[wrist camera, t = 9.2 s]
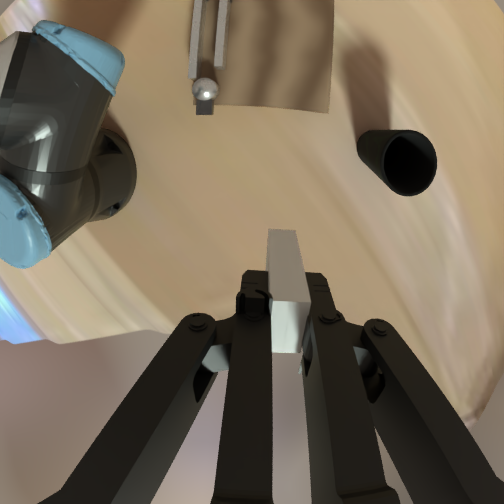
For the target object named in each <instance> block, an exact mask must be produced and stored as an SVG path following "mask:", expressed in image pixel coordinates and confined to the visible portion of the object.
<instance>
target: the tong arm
mask: <svg viewBox="0 0 504 504" xmlns="http://www.w3.org/2000/svg"><path fill="white" fill-rule="evenodd" d="M231 3H232V0H220V1H219V11H218V22H217V33H216V45H215V58H214V67H215V68H217V69H218V70H225V68H226V54H227V40H228V28H229V17H230V6H231Z"/></svg>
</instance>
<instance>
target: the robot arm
mask: <svg viewBox="0 0 504 504" xmlns="http://www.w3.org/2000/svg"><path fill="white" fill-rule="evenodd" d="M32 31H33V32H32V33H29V32H21V31H16V32H14V33H13V34H11V35H10V36H8V37H7V38H6V39H4V40H3V41H1V42H0V258H1V259H2V260H4V261H5V262H6V263H8V264H10V265H11V266H14V267H16V268H22V269H25V268H29V267H32V266H34V265H35V264H36V263H38V262H39V261H41V260H42V259H44V258H47V257H48V256H49V255H50V254H51V253H50V252H51V251H53V250H54V249H55V248H56V247H57V246H58V245H60V244H61V243H62V242H63V241H64V240H66V239H67V238H68V237H69V236H70V235H72V234H73V233H74V232H75V231H77V230H78V229H79V228H80V227H82V226H83V225H84V224H85V223H87V222H92V221H99V220H104V219H107V218H110V217H112V216H113V215H115V214H116V213H118V212H119V211H120V210H121V209H123V208H124V207H125V206H126V204H127V203H128V202H129V200H130V199H131V197H132V195H133V192H134V189H135V185H136V178H137V172H136V164H135V160H134V157H133V154H132V152H131V150H130V148H129V146H128V145H127V144H126V142H125V141H124V140H123V139H122V138H121V137H120V136H119V135H117V134H116V133H114V132H112V131H110V130H107V129H103V128H100V127H101V125H102V122H103V119H104V117H105V114H106V112H107V109H108V107H109V104H110V102H111V99H112V97H113V96H115V94H116V91H115V89H116V86H117V84H118V81H119V79H120V76H121V74H122V72H123V69H124V66H125V58H124V56H123V54H122V52H121V51H120V50H118V49H117V48H115V47H114V46H112V45H110V44H108V43H106V42H105V41H103V40H100V39H98V38H96V37H94V36H92V35H90V34H87V33H85V32H82V31H80V30H77V29H74V28H71V27H66V26H65V25H61V24H58V23H56V22H52V21H47V20H41V21H39V22H38V23H37V24H36V25H35V26H34V27H33V29H32ZM328 286H329V285H328V282H327V279H326V278H325V277H324V276H323V275H322V274H321V273H310V272H305V271H304V266H303V262H302V257H301V253H300V249H299V244H298V240H297V236H296V231H295V230H281V229H269V231H268V244H267V258H266V271H258V270H247V271H246V272H245V273H244V274H243V275H242V282H241V289H240V292H238V294H237V296H236V313H235V314H234V315H233V316H232V317H230V318H227V319H224V320H219V321H215V319H214V318H213V317H211V316H210V315H208V314H205V313H193V314H190V315H187V316H185V317H184V318H183V319H182V320H181V322H180V323H179V324H178V326H177V327H176V328H175V330H174V331H173V332H172V334H171V335H170V336H169V338H168V339H167V340H166V342H165V343H164V345H163V346H162V347H161V349H160V350H159V351H158V353H157V354H156V356H155V357H154V358H153V360H152V361H151V362H150V364H149V365H148V367H147V368H146V369H145V371H144V372H143V373H142V375H141V376H140V377H139V379H138V380H137V382H136V383H135V384H134V386H133V387H132V389H131V390H130V391H129V393H128V394H127V396H126V397H125V398H124V400H123V401H122V402H121V404H120V405H119V407H118V408H117V410H116V411H115V412H114V414H113V415H112V416H111V418H110V420H109V421H108V422H107V424H106V425H105V426H104V428H103V429H102V431H101V432H100V434H99V435H98V436H97V438H96V439H95V441H94V442H93V443H92V445H91V447H90V448H89V449H88V451H87V452H86V453H85V455H84V456H83V458H82V459H81V461H80V462H79V464H78V465H77V466H76V468H75V469H74V471H73V472H72V474H71V475H70V477H69V478H68V480H67V481H66V482H65V484H64V485H63V487H62V488H61V490H59V491H58V492H56V493H54V494H53V495H51V496H49V497H48V498H46V499H44V500H43V501H41V502H39V503H38V504H150V503H151V501H152V499H153V498H154V496H155V494H156V492H157V490H158V488H159V487H160V485H161V483H162V481H163V479H164V477H165V475H166V473H167V472H168V470H169V468H170V466H171V464H172V462H173V460H174V459H175V456H176V455H177V453H178V451H179V449H180V447H181V445H182V443H183V441H184V439H185V437H186V435H187V434H188V432H189V430H190V428H191V426H192V424H193V422H194V420H195V418H196V416H197V414H198V412H199V410H200V408H201V406H202V404H203V402H204V400H205V398H206V396H207V394H208V392H209V390H210V388H211V387H212V384H213V383H214V381H215V379H216V376H217V375H218V371H224V370H229V371H228V379H227V388H226V395H225V403H224V411H223V419H222V427H221V435H220V444H219V452H218V461H217V469H216V477H215V486H214V493H213V497H212V499H211V503H210V504H274V503H273V498H272V457H273V455H272V454H273V450H272V447H273V441H272V440H273V435H272V433H273V426H272V424H273V422H272V420H273V418H272V417H273V414H272V352H282V353H300V352H301V348H303V356H302V360H301V364H300V368H299V374H301V372H302V375H303V385H304V397H305V408H306V420H307V432H308V447H309V462H310V477H311V478H310V479H311V497H312V504H400V500H399V497H398V494H397V492H396V491H395V489H393V488H391V487H389V486H388V485H387V483H386V480H385V476H384V470H383V465H382V460H381V455H380V451H379V446H378V442H377V436H376V432H375V428H376V430H377V432H378V434H379V436H380V438H381V440H382V442H383V444H384V446H385V447H386V450H387V451H388V453H389V455H390V457H391V459H392V461H393V463H394V465H395V467H396V469H397V471H398V473H399V475H400V477H401V479H402V481H403V483H404V485H405V487H406V489H407V491H408V493H409V495H410V497H411V499H412V501H413V503H414V504H504V482H503V481H501V480H500V479H499V478H498V477H496V475H495V473H494V471H493V470H492V468H491V466H490V465H489V463H488V461H487V460H486V458H485V456H484V455H483V453H482V451H481V450H480V448H479V446H478V445H477V443H476V442H475V440H474V439H473V437H472V435H471V434H470V432H469V431H468V429H467V428H466V426H465V425H464V423H463V422H462V420H461V419H460V417H459V416H458V414H457V413H456V411H455V410H454V408H453V407H452V405H451V404H450V402H449V401H448V400H447V398H446V397H445V395H444V394H443V392H442V391H441V390H440V388H439V387H438V385H437V384H436V383H435V381H434V380H433V378H432V377H431V376H430V374H429V373H428V372H427V370H426V369H425V368H424V366H423V365H422V364H421V362H420V361H419V360H418V358H417V357H416V356H415V354H414V353H413V352H412V350H411V349H410V348H409V346H408V345H407V344H406V343H405V341H404V340H403V339H402V337H401V336H400V335H399V334H398V332H397V331H396V330H395V328H394V327H393V326H392V325H391V324H390V323H388V322H387V321H385V320H382V319H370V320H368V321H367V322H366V323H365V324H364V326H360V325H356V324H352V323H349V322H347V321H345V318H344V316H343V315H342V313H340V312H339V311H338V310H336V308H335V305H334V301H333V298H332V295H331V292H330V289H329V287H328ZM374 426H375V428H374Z"/></svg>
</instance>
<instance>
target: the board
mask: <svg viewBox="0 0 504 504" xmlns="http://www.w3.org/2000/svg"><path fill="white" fill-rule="evenodd" d="M219 1H220V0H209V1H207V9H206V20H205V31H204V43H203V56H202V72H201V78H209V79H211V80H213V81H215V82H216V83H217V84H218V85H219V88H220V92H219V95H218V96H217V98H215V99H214V105H238V106H259V107H273V108H285V109H295V110H304V111H312V112H319V113H328V111H329V99H330V86H331V72H332V54H333V30H334V0H232V3H231V6H230V17H229V28H228V40H227V54H226V68H225V70H218V69H217V68H215V67H214V58H215V45H216V33H217V22H218V11H219ZM196 81H197V80H196ZM196 81H194V83H195V82H196ZM197 100H199V99H197V98H196V97H195V96H194V100H193V105H197Z"/></svg>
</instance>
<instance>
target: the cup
mask: <svg viewBox="0 0 504 504" xmlns="http://www.w3.org/2000/svg"><path fill="white" fill-rule="evenodd" d="M357 152H358V156H359V157H360V159H361V160H362V161H363V162H364V163H365V164H366V165H367V166H368V167H369V168H370V169H371V170H372V171H373V172H374V173H375V174H376V175H377V176H378V177H379V178H380V179H381V180H382V181H383V182H384V183H385V184H386V185H387V186H388V187H389V188H390V189H391V190H392V191H394V192H395V193H397V194H399V195H402V196H414V195H418V194H420V193H422V192H423V191H424V190H426V189H427V188H428V187H429V185H430V184H431V183H432V181H433V179H434V177H435V174H436V169H437V157H436V152H435V149H434V147H433V145H432V143H431V142H430V141H429V139H428V138H427V137H425V136H424V135H423V134H421V133H419V132H417V131H413V130H371V131H367V132H365V133H364V134H363V135H362V136H361V137H360V138H359V140H358V143H357Z"/></svg>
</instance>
